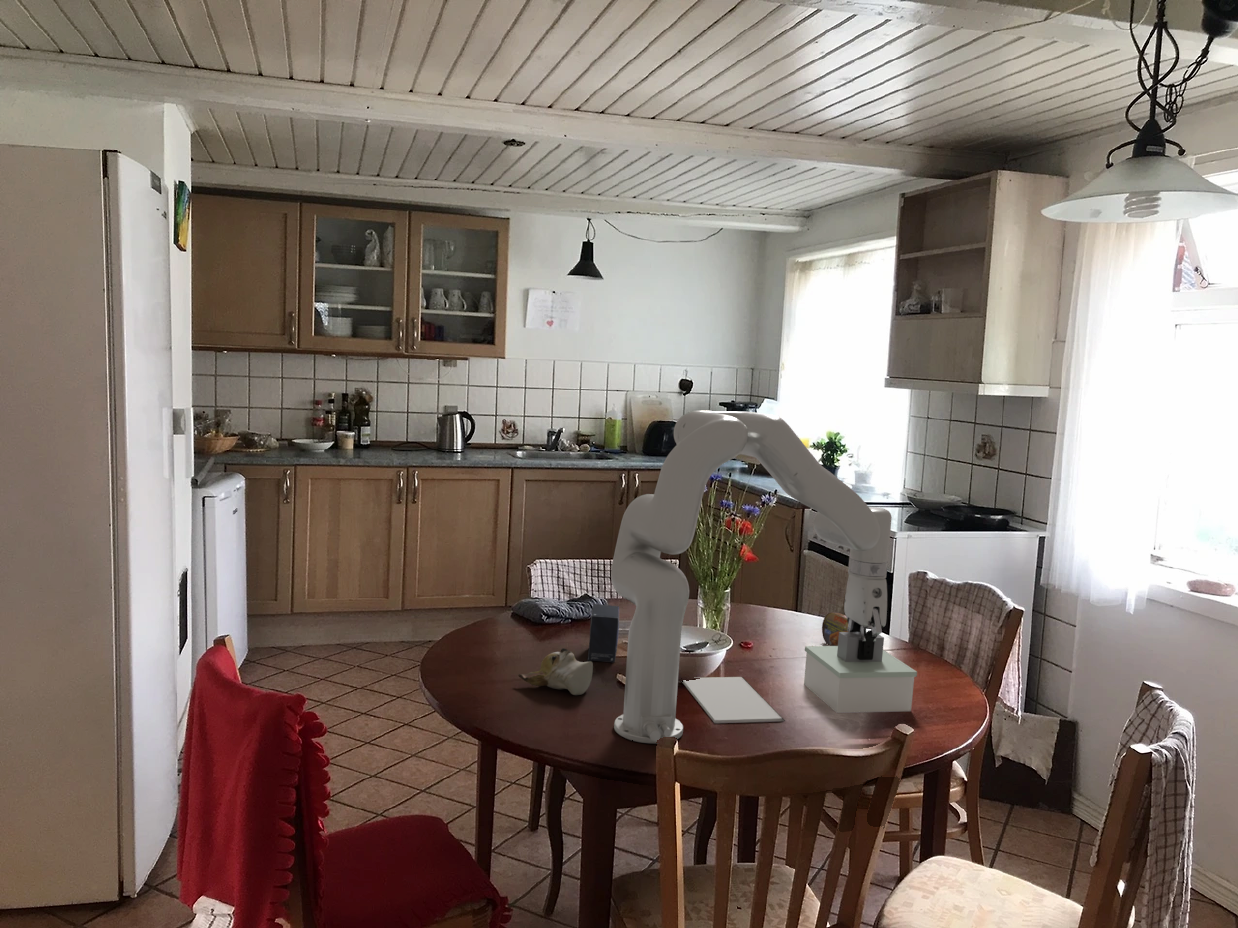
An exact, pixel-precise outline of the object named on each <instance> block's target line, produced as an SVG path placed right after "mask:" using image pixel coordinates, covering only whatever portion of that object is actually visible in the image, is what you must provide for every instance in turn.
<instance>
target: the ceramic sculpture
mask: <svg viewBox="0 0 1238 928" xmlns="http://www.w3.org/2000/svg"><path fill="white" fill-rule="evenodd" d="M540 662H541V663H540V668H539V670H538V671H531V672H528V673H526V674H523V673H521V674H518V675H517V676H518V677H519V679H521V680H523V681H524V682H526V683H528V684H530V685H532V686H535V687H545V686H547V687H548V688H551V689H555V690H568V691H569V693H570V694H571V695H573V696H580V695H583V694H585V692H587V690H588V689H589V687H590V685H591V682H592V679H593V671H594V670H593V668H594V666H593V661H584V662H583V661H579V660H577V659H576V657H575V654H574V653H573V652H572V651H571V650H568V649H567V648H563V647H562V648H561V649H560V651H555V652H551V653H549V654H547V655H546V656H545V657H544V658H543V659H542V661H540Z"/></svg>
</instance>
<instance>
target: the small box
mask: <svg viewBox="0 0 1238 928" xmlns="http://www.w3.org/2000/svg"><path fill="white" fill-rule="evenodd" d="M589 626H590V628H589V642H588V644H589V645H588V654H587V662H590V661H591V662H603V663H604V662H605V663H615V662H616V656H617V650H618V645H619V644H618V643H619V641H618V640H619V630H620V605H619V606H617V605H609V604H599V603H593V605H592V609H591V615H590V625H589Z"/></svg>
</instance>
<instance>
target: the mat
mask: <svg viewBox="0 0 1238 928" xmlns="http://www.w3.org/2000/svg"><path fill="white" fill-rule="evenodd" d="M699 678H700V679H696V680H689V681H686V680H683V682H682V684H683V685H684V687H685V688H686V689H687V690H688V691H689V693H690V694H691V695H692V696H693V698H694V699H695V700H696V702H698V704H699V705H700V706H701V708H702V709H703V710H704V712H705V714H707V715H708V717H709V718H710V719H711V720H712V722H713V724H728V723H729V724H734V723H735V724H737V723H741V724H742V723H769V722H770V723H771V722H772V723H773V722H786V720H785V719H784V717H782V715H780V714H779V713H778V712H777V711H776V709H775V708H774V707H773V706H771V705H770V704H769V703H768V702H767V700H766V699H764V698H763V696H761V695H760V693H759V692H758V691H757V690H756V689H755V688H754V687H753V686H752V685H751V684H750V683H749V682H748V681H747V680H746V679H745V678H744V677H742V676H726V677H725V676H724V677H723V676H722V677H721V676H720V677H717V676H715V677H709V676H707V677H699Z"/></svg>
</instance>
